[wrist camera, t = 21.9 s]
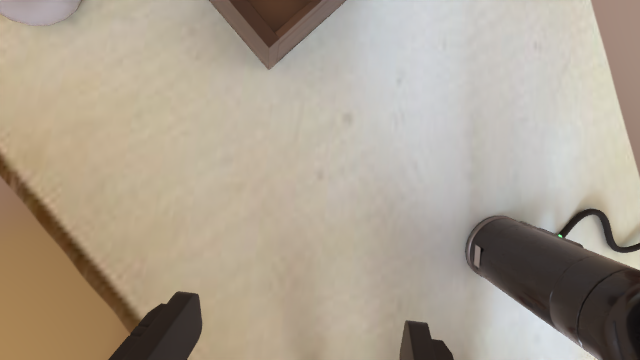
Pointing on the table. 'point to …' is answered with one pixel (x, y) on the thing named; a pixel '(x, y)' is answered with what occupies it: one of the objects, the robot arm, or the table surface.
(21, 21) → the donut
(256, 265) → the table surface
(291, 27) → the tray
